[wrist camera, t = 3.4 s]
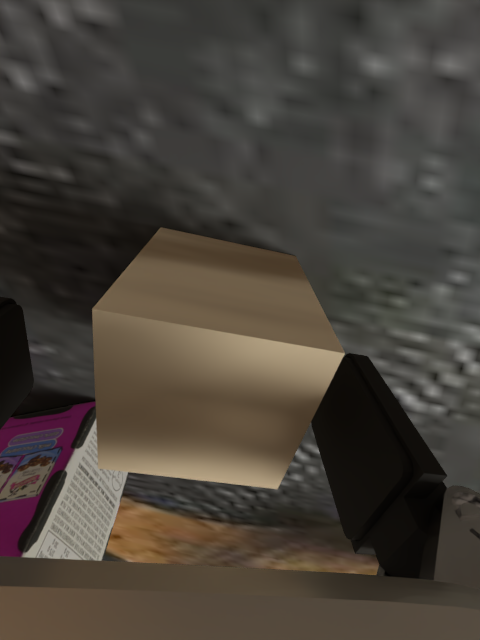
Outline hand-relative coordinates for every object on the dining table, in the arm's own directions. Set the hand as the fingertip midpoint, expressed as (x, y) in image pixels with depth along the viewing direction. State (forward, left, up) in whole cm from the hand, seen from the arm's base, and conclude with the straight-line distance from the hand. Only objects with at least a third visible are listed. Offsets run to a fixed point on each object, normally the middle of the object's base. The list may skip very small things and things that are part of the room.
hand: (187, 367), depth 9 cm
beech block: (0, +1, -4) cm, 4 cm away
